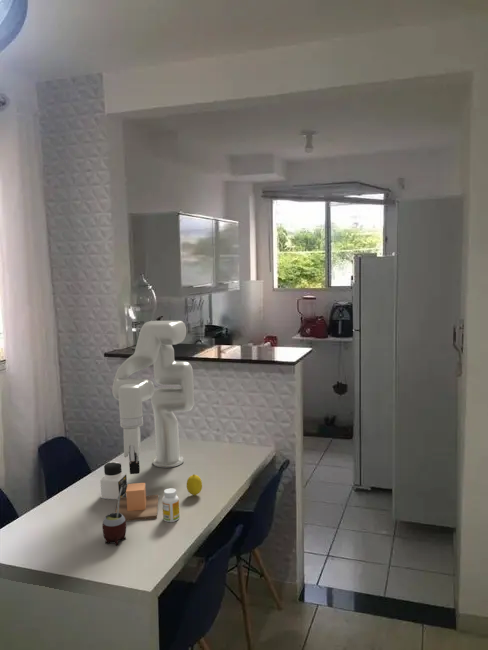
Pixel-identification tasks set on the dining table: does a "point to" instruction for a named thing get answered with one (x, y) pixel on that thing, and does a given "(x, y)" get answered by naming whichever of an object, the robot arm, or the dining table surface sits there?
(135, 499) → the tan wooden cube
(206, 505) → the dining table surface
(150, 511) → the base board
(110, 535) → the mate gourd
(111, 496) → the medicine bottle
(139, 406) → the robot arm
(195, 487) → the lemon
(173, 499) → the supplement bottle
